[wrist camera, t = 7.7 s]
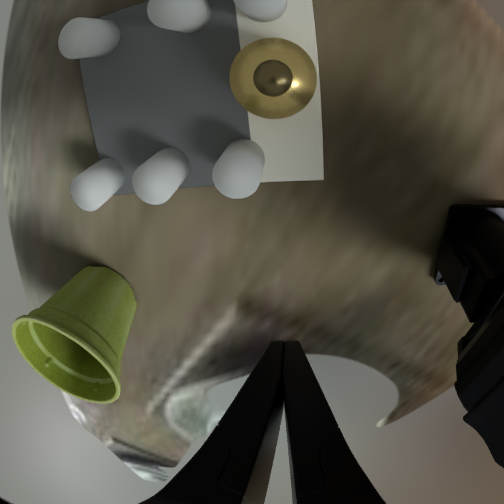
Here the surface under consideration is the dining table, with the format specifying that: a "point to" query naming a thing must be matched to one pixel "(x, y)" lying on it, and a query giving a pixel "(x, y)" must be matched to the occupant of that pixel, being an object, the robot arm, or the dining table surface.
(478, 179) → the dining table surface
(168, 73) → the board
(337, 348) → the dining table surface
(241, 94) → the brass knob
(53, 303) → the plant pot
